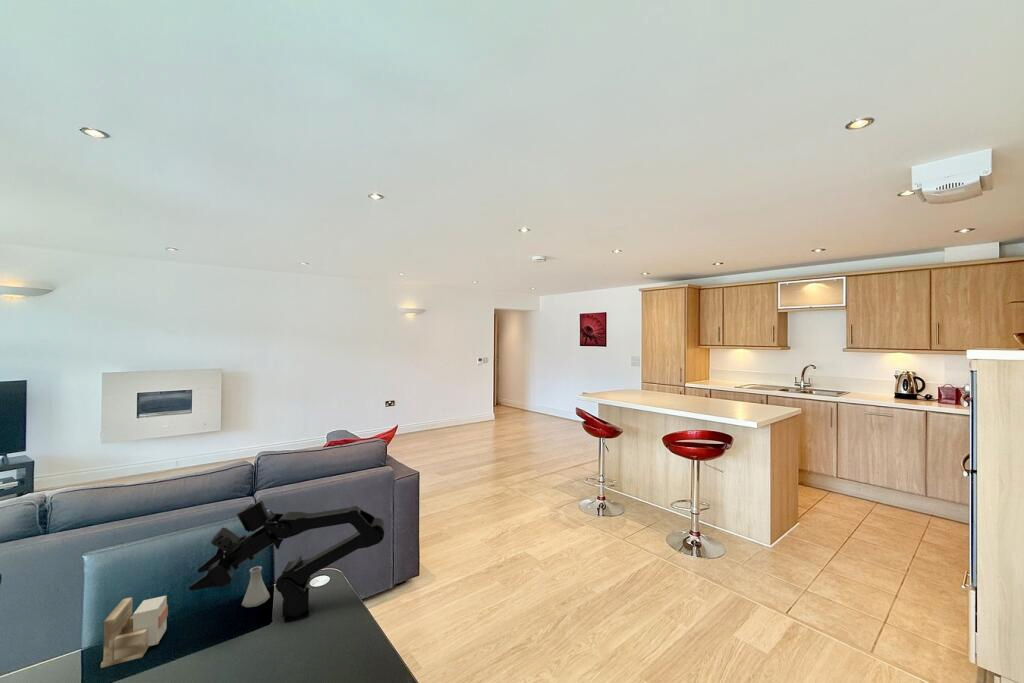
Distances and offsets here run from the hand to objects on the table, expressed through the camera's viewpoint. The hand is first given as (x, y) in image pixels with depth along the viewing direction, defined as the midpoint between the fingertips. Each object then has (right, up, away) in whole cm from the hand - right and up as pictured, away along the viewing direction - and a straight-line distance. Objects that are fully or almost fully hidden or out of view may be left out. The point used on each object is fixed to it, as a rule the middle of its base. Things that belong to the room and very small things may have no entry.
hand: (194, 579), depth 114 cm
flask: (+7, -16, +16) cm, 23 cm away
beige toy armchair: (-12, -15, -4) cm, 20 cm away
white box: (-9, -14, -3) cm, 17 cm away
